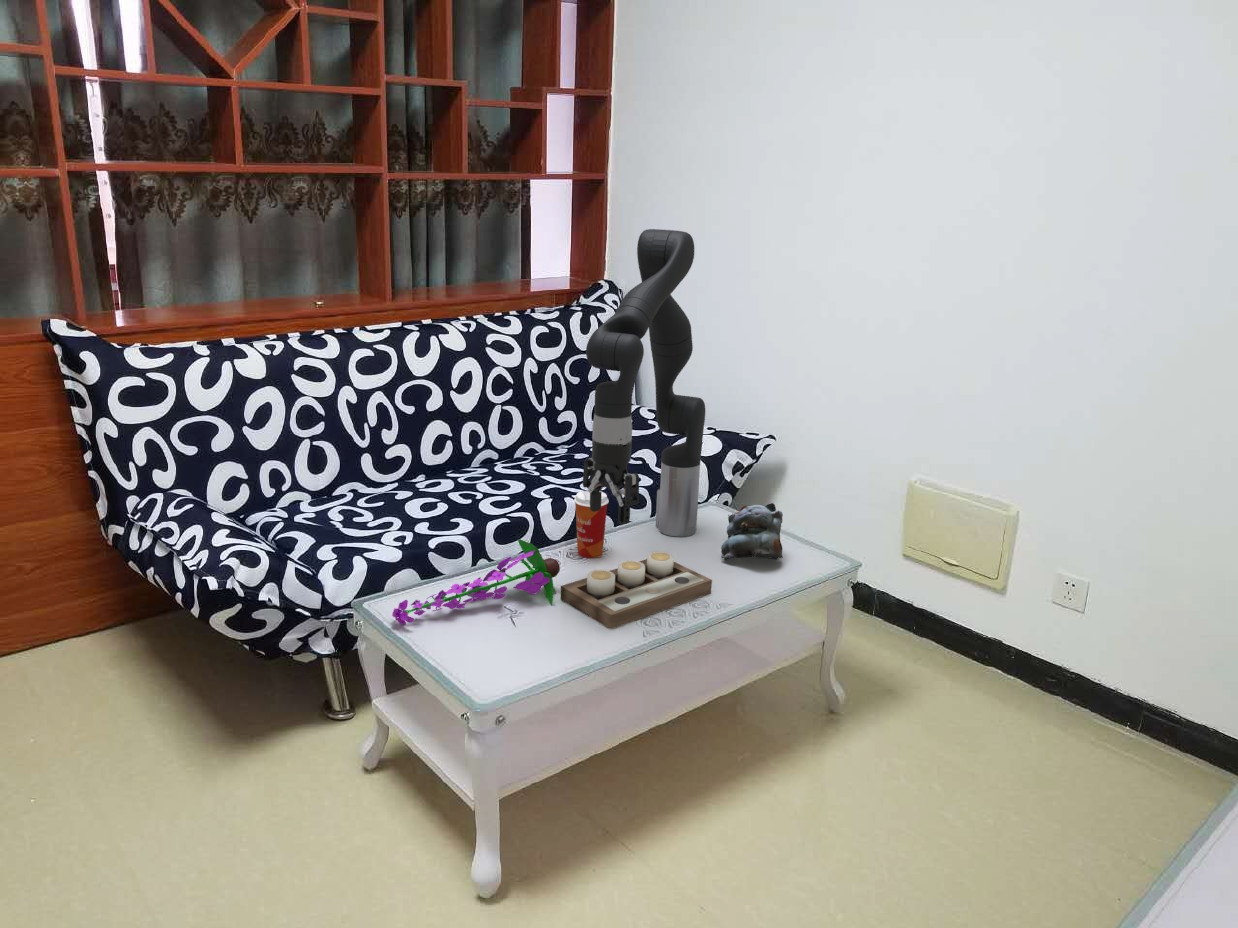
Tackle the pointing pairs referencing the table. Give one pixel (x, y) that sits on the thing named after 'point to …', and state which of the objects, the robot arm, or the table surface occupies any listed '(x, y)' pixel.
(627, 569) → the button mid
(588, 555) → the paper cup
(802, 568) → the table surface
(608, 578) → the button
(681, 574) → the wooden candle tray
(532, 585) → the purple flower sprig
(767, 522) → the lucky cat figurine
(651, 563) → the button
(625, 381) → the robot arm
